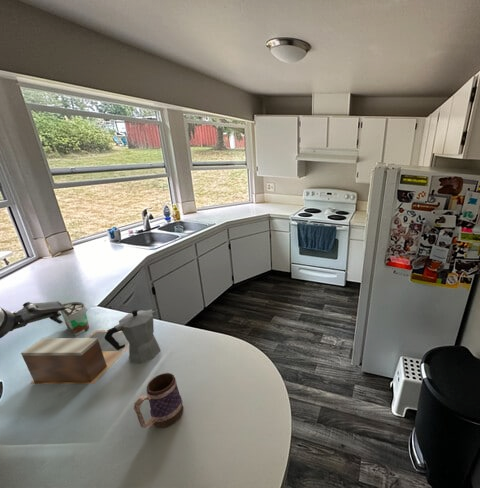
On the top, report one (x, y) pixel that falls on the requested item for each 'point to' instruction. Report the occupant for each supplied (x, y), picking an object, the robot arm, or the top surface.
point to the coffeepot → (137, 335)
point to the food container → (75, 317)
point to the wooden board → (107, 350)
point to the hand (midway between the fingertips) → (27, 338)
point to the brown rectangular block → (64, 360)
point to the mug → (161, 402)
